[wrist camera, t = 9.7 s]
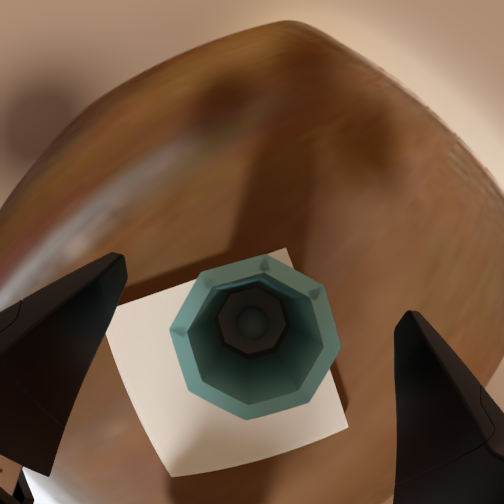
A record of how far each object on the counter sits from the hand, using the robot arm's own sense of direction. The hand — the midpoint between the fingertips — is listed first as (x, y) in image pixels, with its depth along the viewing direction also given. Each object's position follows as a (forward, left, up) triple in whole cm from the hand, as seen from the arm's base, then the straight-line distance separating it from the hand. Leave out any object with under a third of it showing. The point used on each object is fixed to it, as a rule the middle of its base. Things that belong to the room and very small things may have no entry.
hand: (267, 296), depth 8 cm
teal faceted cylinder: (-1, +1, -11) cm, 12 cm away
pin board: (-5, +4, -13) cm, 14 cm away
